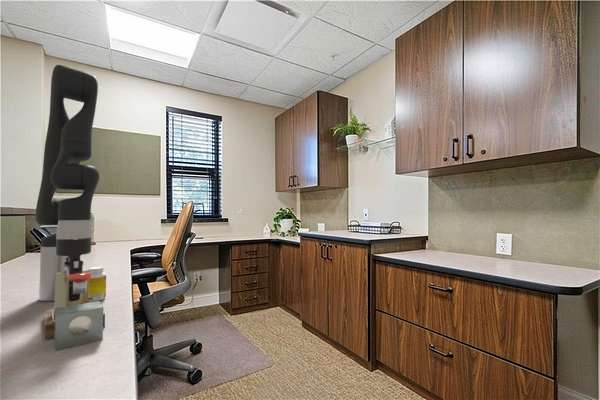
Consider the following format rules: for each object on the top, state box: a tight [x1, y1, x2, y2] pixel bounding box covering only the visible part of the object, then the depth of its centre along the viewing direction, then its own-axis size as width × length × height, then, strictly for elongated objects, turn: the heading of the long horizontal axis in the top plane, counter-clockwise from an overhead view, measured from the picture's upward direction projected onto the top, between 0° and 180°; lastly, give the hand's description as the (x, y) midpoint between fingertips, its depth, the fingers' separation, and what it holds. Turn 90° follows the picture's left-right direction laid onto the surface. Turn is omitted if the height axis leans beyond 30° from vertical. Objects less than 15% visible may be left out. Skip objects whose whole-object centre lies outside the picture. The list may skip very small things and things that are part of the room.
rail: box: [43, 309, 106, 341], centre depth 73 cm, size 18×11×3 cm, turn 42°
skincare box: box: [53, 269, 89, 321], centre depth 78 cm, size 6×4×12 cm
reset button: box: [69, 272, 91, 294], centre depth 64 cm, size 4×4×4 cm
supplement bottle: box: [88, 266, 107, 303], centre depth 94 cm, size 6×6×10 cm
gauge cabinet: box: [53, 300, 104, 352], centre depth 63 cm, size 6×8×7 cm
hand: (72, 297), depth 78 cm, fingers open, 8 cm apart
